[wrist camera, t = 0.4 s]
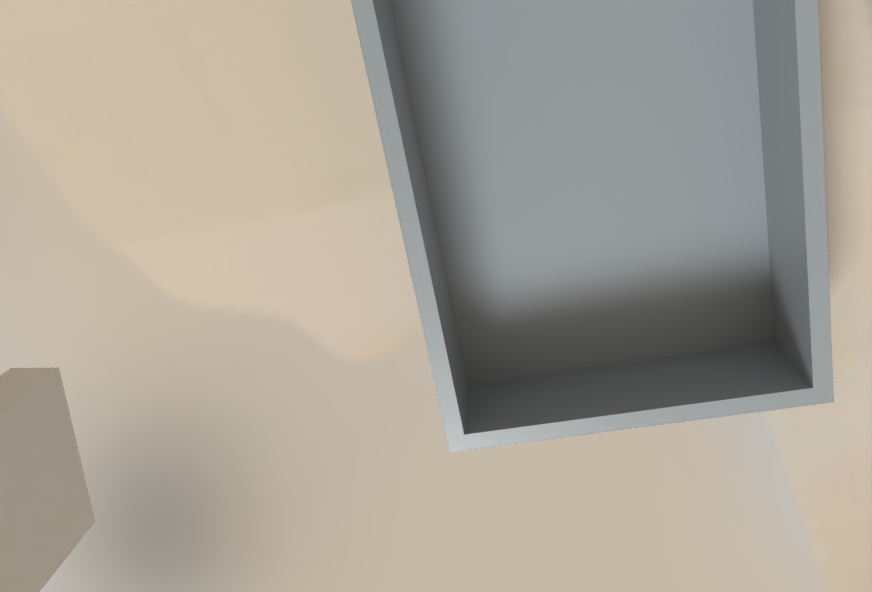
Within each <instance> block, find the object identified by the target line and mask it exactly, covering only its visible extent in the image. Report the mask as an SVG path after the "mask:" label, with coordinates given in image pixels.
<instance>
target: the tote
mask: <svg viewBox="0 0 872 592" xmlns="http://www.w3.org/2000/svg"><path fill="white" fill-rule="evenodd" d="M351 3H352V8H353V12H354V17H355V21H356V26H357V30H358V35H359V40H360V44H361V49H362V53H363V58H364V62H365V67H366V71H367V76H368V81H369V85H370V90H371V94H372V99H373V103H374V108H375V112H376V117H377V122H378V126H379V131H380V135H381V140H382V144H383V149H384V153H385V158H386V163H387V167H388V172H389V176H390V181H391V185H392V190H393V194H394V199H395V204H396V208H397V213H398V217H399V222H400V226H401V231H402V235H403V240H404V245H405V249H406V254H407V258H408V263H409V267H410V272H411V276H412V281H413V286H414V290H415V295H416V299H417V304H418V308H419V313H420V317H421V322H422V327H423V331H424V336H425V340H426V345H427V349H428V354H429V358H430V363H431V367H432V372H433V377H434V381H435V386H436V390H437V395H438V399H439V404H440V409H441V413H442V417H443V422H444V427H445V431H446V436H447V441H448V445H449V449H450V452H456V451H463V450H472V449H479V448H487V447H495V446H501V445H509V444H517V443H525V442H532V441H540V440H548V439H556V438H563V437H570V436H578V435H586V434H594V433H601V432H609V431H617V430H624V429H632V428H638V427H647V426H654V425H662V424H669V423H678V422H685V421H693V420H700V419H708V418H716V417H723V416H730V415H739V414H746V413H754V412H762V411H769V410H777V409H784V408H792V407H800V406H807V405H815V404H823V403H830V402H834V395H833V369H832V343H831V317H830V291H829V265H828V239H827V213H826V187H825V161H824V135H823V109H822V84H821V58H820V32H819V6H818V0H351Z"/></svg>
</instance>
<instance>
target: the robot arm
mask: <svg viewBox="0 0 872 592" xmlns="http://www.w3.org/2000/svg"><path fill="white" fill-rule="evenodd" d="M94 522H95V519H94V515H93V510H92V506H91V502H90V498H89V494H88V489H87V485H86V481H85V477H84V472H83V468H82V464H81V459H80V455H79V451H78V447H77V442H76V438H75V434H74V430H73V425H72V421H71V417H70V413H69V409H68V404H67V400H66V396H65V391H64V387H63V383H62V379H61V374H60V370H59V368H10V369H9V370H7V371H6V372H5V373H3V374H2V375H1V376H0V592H39V591H40V590H41V589H42V588H43V586H44V585H45V584H46V583H47V581H48V580H49V579H50V578H51V576H52V575H53V574H54V573H55V571H56V570H57V569H58V568H59V566H60V565H61V564H62V562H63V561H64V560H65V559H66V557H67V556H68V555H69V554H70V553H71V551H72V550H73V549H74V547H75V546H76V545H77V544H78V542H79V541H80V540H81V539H82V537H83V536H84V535H85V534H86V532H87V531H88V530H89V529H90V527H91V526H92V525H93V524H94Z"/></svg>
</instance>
